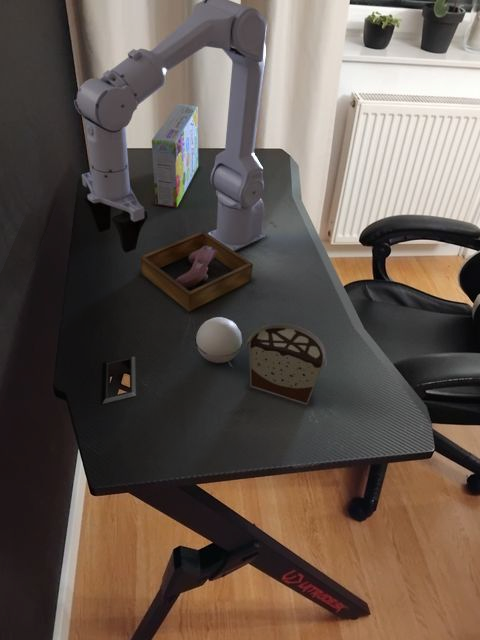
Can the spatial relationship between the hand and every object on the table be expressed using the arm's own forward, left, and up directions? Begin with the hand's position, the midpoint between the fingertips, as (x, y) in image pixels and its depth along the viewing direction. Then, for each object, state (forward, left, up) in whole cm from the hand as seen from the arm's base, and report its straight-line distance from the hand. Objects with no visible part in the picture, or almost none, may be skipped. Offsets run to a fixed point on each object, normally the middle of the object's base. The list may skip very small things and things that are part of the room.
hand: (116, 239), depth 97 cm
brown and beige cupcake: (-6, +36, -10) cm, 38 cm away
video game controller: (-13, +6, -10) cm, 18 cm away
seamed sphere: (-1, +26, -10) cm, 28 cm away
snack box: (-33, -25, -10) cm, 42 cm away
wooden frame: (-13, +6, -10) cm, 17 cm away
